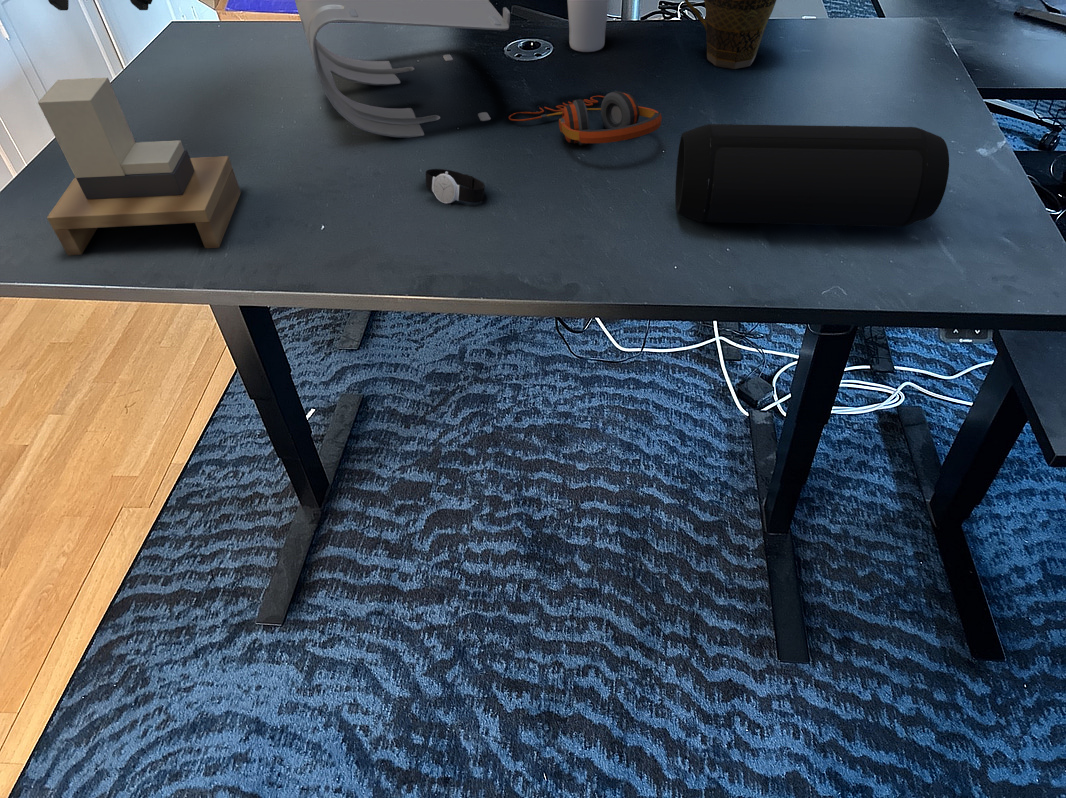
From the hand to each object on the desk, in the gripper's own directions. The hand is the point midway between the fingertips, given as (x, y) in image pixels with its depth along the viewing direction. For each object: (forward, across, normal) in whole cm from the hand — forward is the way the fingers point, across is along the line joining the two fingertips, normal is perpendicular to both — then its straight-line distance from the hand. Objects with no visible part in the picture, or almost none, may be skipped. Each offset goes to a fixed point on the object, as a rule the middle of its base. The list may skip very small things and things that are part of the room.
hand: (98, 7), depth 78 cm
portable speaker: (+19, +72, +9) cm, 75 cm away
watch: (+16, +35, +12) cm, 40 cm away
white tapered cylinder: (-13, +50, +42) cm, 66 cm away
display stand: (+21, +3, +7) cm, 22 cm away
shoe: (+17, +3, +4) cm, 18 cm away
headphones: (+6, +51, +22) cm, 56 cm away
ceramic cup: (-11, +69, +39) cm, 80 cm away
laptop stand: (-2, +25, +30) cm, 39 cm away
